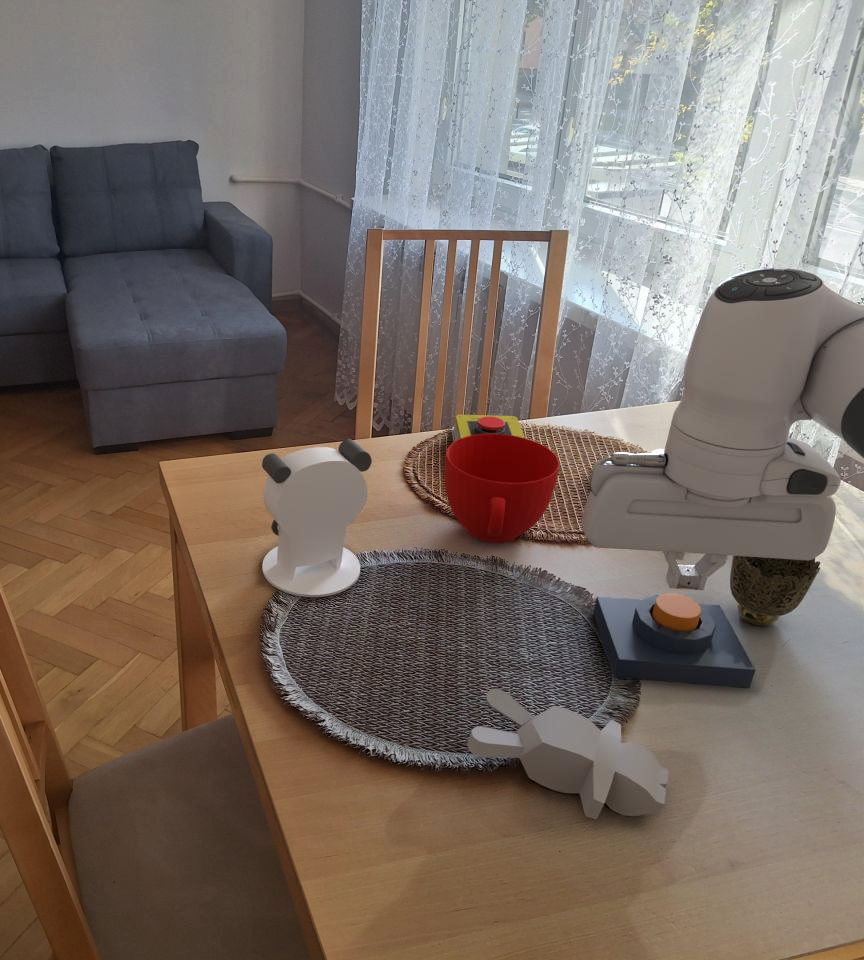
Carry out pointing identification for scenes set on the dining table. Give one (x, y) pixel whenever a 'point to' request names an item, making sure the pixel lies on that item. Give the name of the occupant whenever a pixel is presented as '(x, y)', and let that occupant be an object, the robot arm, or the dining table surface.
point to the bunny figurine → (576, 758)
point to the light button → (676, 612)
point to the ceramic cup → (499, 484)
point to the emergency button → (485, 426)
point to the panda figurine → (314, 518)
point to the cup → (770, 586)
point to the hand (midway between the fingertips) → (683, 585)
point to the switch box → (671, 645)
